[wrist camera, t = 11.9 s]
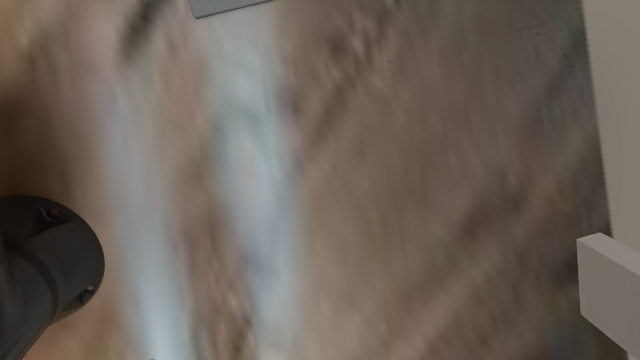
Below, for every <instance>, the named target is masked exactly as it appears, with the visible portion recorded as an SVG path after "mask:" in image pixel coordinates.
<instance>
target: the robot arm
mask: <svg viewBox="0 0 640 360" xmlns="http://www.w3.org/2000/svg"><path fill="white" fill-rule="evenodd" d="M51 208H54V209H57V210H58V211H59V217H58V216H53V215H52V214H51V213H50V209H51ZM577 254H578V272H579V290H580V308H581V315H583V316H584V317H585V318H586V319H588V320H589V321H590V322H591V323H593V324H594V325H595V326H596V327H597V328H599V329H600V330H601V331H602V332H604V333H605V334H606V335H607V336H609V337H610V338H611V339H612V340H613V341H615V342H616V343H617V344H618V345H620V346H621V347H622V348H623V349H625V350H626V351H627V352H628V353H629V354H631V355H632V356H633V357H634V358H636V359H637V360H640V253H638V252H636V251H635V250H633V249H631V248H629V247H627V246H625V245H623V244H621V243H619V242H617V241H616V240H614V239H612V238H610V237H608V236H606V235H604V234H602V233H596V234H593V235H589V236H586V237H582V238H579V239H577ZM104 268H105V261H104V254H103V250H102V247H101V244H100V242H99V240H98V238H97V236H96V234H95V233H94V231H93V230H92V228H91V227H90V226H89V225H88V224H87V223H86V222H85V221H84V220H83V219H82V218H81V217H80V216H79V215H78V214H76V213H75V212H73V211H72V210H70V209H69V208H67V207H65V206H63V205H61V204H59V203H57V202H54V201H52V200H49V199H45V198H41V197H36V196H26V195H17V196H8V197H3V198H0V360H22V358H23V357H24V356H25V355H26V353H27V352H28V351H29V350H30V348H31V347H32V346H33V345H34V343H35V342H36V341H37V340H38V338H39V337H40V336H41V334H42V333H43V332H44V330H45V329H46V328H47V327H48V326H50V325H52V324H54V323H56V322H57V321H59V320H61V319H63V318H65V317H67V316H69V315H70V314H72V313H74V312H76V311H77V310H79V309H80V308H82V307H83V306H84V305H85V304H86V303H88V302H89V301H90V300H91V298H92V297H93V296H94V295H95V293H96V292H97V290H98V289H99V287H100V284H101V282H102V279H103V275H104ZM89 285H92V286H93V288H94V290H88V289H87V287H88V286H89ZM151 360H154V359H151Z"/></svg>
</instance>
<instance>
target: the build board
mask: <svg viewBox="0 0 640 360" xmlns="http://www.w3.org/2000/svg"><path fill="white" fill-rule="evenodd" d="M189 1H190V5H191V8H192V11H193V14H194V18H196V19H197V18H201V17H206V16H210V15H214V14H218V13H222V12H226V11H231V10H235V9H239V8H243V7H247V6H251V5H256V4H260V3H264V2H268V1H272V0H189Z"/></svg>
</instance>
